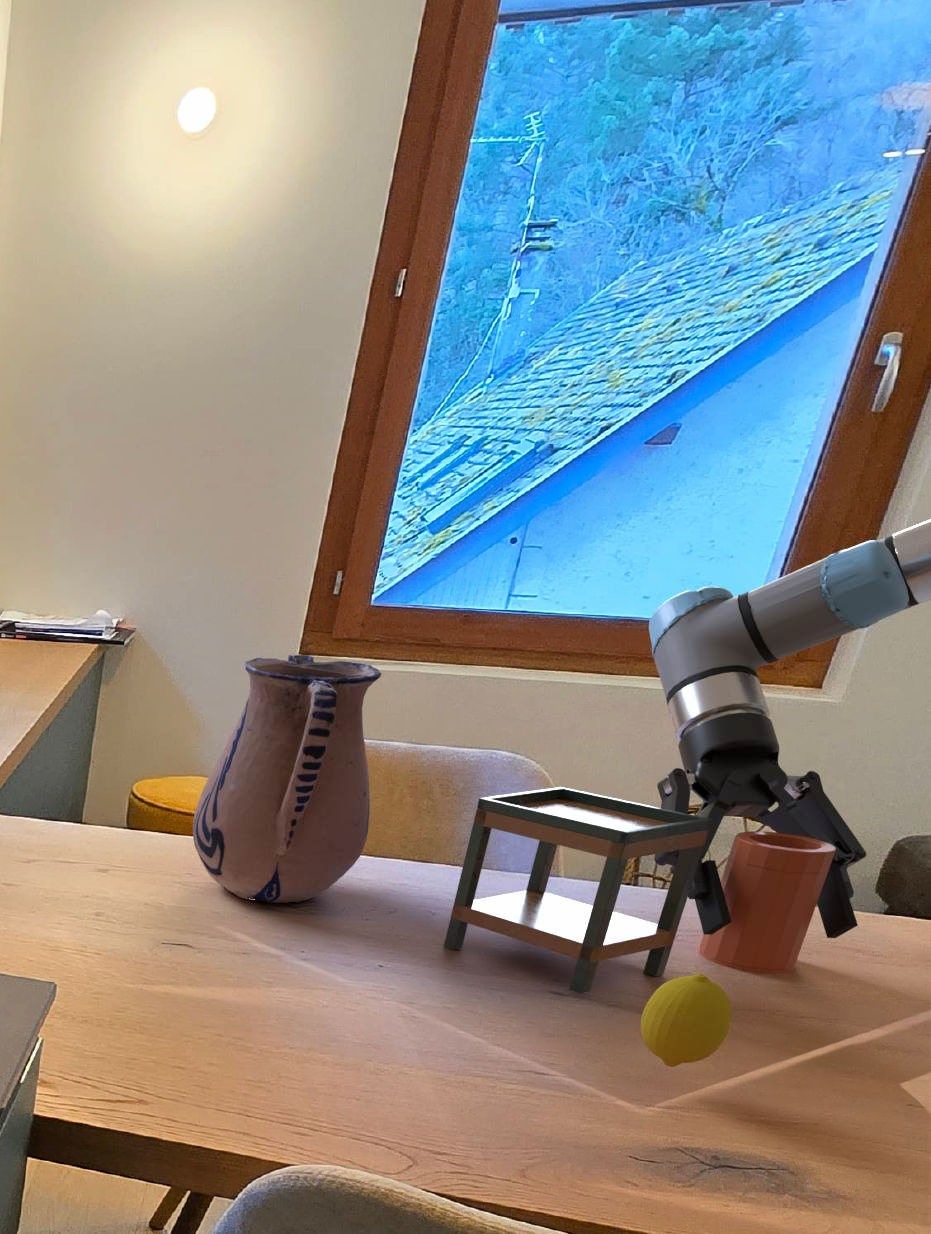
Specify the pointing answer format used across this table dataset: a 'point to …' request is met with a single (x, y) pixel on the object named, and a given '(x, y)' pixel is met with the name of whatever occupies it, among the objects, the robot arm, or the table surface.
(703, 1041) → the lemon
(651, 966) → the rack
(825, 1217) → the table surface
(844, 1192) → the table surface
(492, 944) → the table surface
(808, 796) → the robot arm
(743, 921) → the flower pot
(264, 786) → the ceramic pitcher
